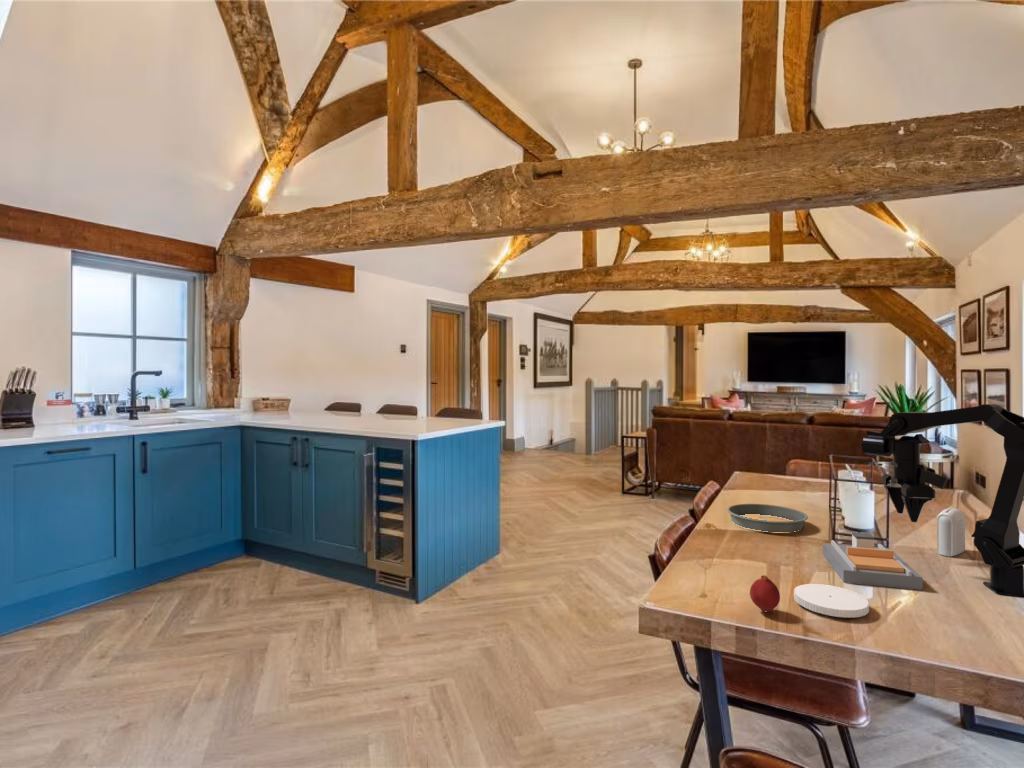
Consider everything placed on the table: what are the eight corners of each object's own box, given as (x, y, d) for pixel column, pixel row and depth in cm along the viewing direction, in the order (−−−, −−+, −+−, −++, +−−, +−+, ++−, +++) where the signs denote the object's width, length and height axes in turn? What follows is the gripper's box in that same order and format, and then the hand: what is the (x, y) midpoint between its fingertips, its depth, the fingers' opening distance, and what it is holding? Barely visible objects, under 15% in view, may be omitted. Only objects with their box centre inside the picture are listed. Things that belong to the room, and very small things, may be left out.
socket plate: (922, 590, 124) (922, 572, 124) (843, 582, 129) (843, 566, 129) (889, 559, 145) (889, 544, 145) (822, 553, 150) (822, 539, 150)
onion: (754, 603, 118) (754, 567, 118) (783, 610, 115) (782, 573, 114) (746, 612, 114) (746, 575, 114) (776, 620, 110) (775, 581, 110)
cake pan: (815, 538, 165) (815, 524, 165) (729, 532, 173) (729, 518, 173) (800, 518, 188) (800, 505, 188) (725, 513, 196) (725, 501, 196)
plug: (874, 568, 139) (874, 537, 139) (856, 566, 140) (856, 536, 140) (869, 563, 142) (869, 533, 142) (852, 561, 144) (852, 532, 144)
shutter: (903, 572, 127) (903, 560, 127) (855, 568, 130) (855, 556, 130) (892, 561, 135) (892, 549, 135) (846, 557, 138) (846, 546, 138)
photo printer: (948, 547, 155) (948, 504, 154) (967, 551, 151) (967, 507, 151) (934, 554, 149) (934, 509, 149) (953, 558, 145) (953, 513, 145)
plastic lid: (780, 595, 123) (780, 584, 123) (839, 593, 124) (839, 582, 124) (820, 623, 109) (820, 611, 109) (885, 621, 110) (885, 608, 110)
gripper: (960, 465, 131) (960, 529, 131) (927, 455, 149) (927, 511, 149) (906, 464, 135) (907, 526, 135) (880, 453, 152) (881, 508, 153)
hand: (906, 517), depth 143 cm, fingers open, 9 cm apart
